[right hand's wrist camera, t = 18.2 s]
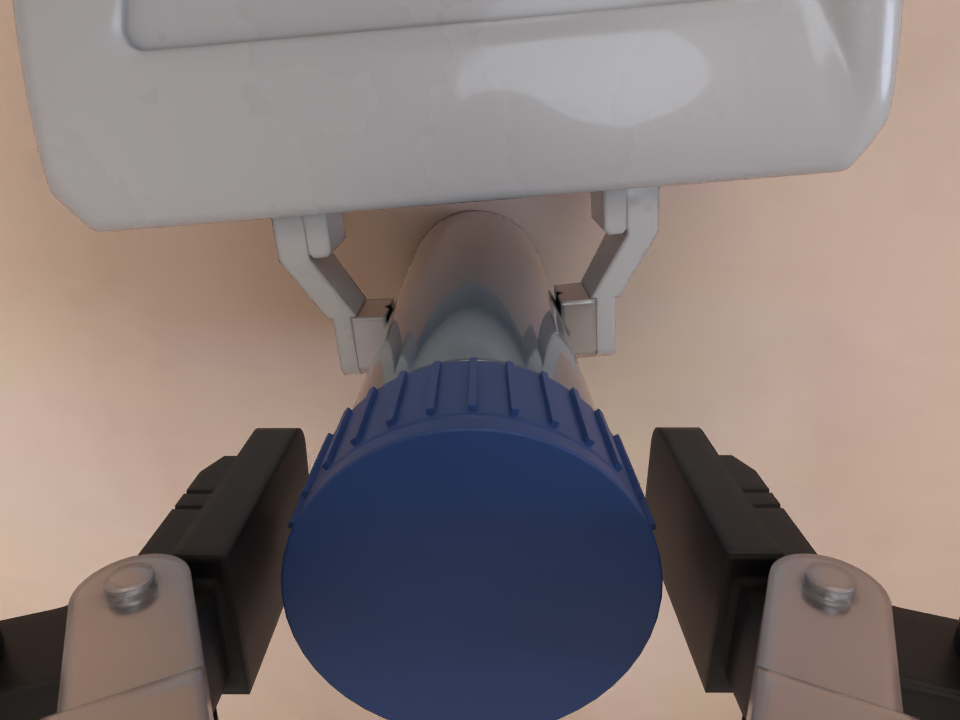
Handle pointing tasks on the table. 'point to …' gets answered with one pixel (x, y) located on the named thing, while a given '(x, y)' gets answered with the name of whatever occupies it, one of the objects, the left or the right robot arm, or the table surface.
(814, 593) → the right robot arm
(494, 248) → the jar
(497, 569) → the lid
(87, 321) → the table surface
